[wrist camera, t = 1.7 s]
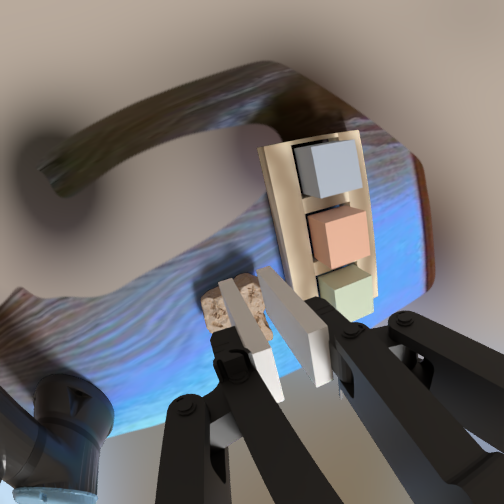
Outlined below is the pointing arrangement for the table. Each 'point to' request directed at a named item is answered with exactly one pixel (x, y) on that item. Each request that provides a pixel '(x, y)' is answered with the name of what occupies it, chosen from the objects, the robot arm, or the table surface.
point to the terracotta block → (339, 235)
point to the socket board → (297, 205)
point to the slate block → (328, 168)
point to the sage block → (348, 291)
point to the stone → (252, 296)
